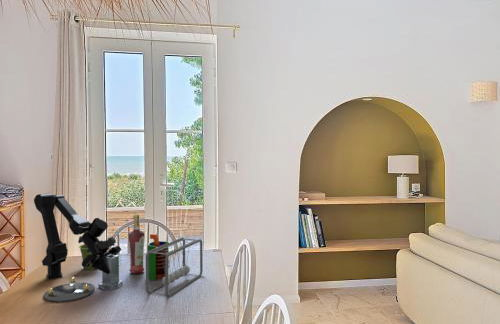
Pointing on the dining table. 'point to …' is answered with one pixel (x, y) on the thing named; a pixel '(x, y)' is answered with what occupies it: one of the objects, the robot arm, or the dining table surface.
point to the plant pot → (85, 254)
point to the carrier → (69, 291)
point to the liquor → (136, 247)
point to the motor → (156, 259)
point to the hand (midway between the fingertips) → (113, 271)
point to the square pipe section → (111, 273)
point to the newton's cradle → (179, 272)
